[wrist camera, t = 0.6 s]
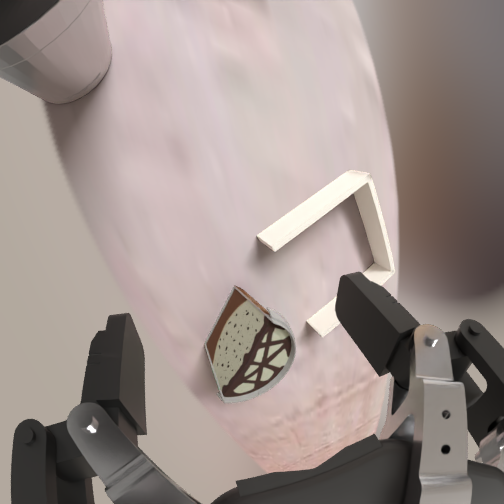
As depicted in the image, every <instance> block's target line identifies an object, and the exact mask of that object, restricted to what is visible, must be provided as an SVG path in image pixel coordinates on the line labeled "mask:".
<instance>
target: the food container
mask: <svg viewBox="0 0 504 504" xmlns="http://www.w3.org/2000/svg"><path fill="white" fill-rule="evenodd" d="M267 310H268V311H267ZM267 310H266V309H265V308H263V307H262V306H261V305H260V304H259V303H258V302H257V301H255V300H254V299H253V298H252V297H251V296H250V295H249V294H248V293H247V292H245V291H244V290H243V289H241V288H240V287H237V286H235V285H234V287H233V289H232V291H231V293H230V295H229V297H228V299H227V301H226V303H225V304H224V306H223V308H222V310H221V312H220V314H219V316H218V318H217V320H216V322H215V324H214V326H213V328H212V330H211V332H210V334H209V335H208V337H207V339H206V341H205V343H204V345H205V349H206V352H207V355H208V358H209V362H210V365H211V368H212V371H213V374H214V377H215V380H216V383H217V386H218V389H219V392H220V393H217V395H218V397H219V398H220V399H221V401H223V402H224V403H238V402H243V401H247V400H250V399H253V398H255V397H258V396H260V395H262V394H264V393H265V392H267V391H268V390H270V389H271V388H273V387H274V386H275V385H276V384H278V383H279V382H280V381H281V380H282V379H283V378H284V376H285V375H286V374H287V372H288V371H289V369H290V368H291V366H292V363H293V361H294V358H295V353H296V345H295V338H294V335H293V332H292V330H291V328H290V326H289V324H288V323H287V321H286V319H285V318H284V317H283V316H282V315H281V314H280V313H278V312H277V311H275V310H273V309H271V308H268V307H267Z"/></svg>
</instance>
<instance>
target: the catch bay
mask: <svg viewBox="0 0 504 504" xmlns="http://www.w3.org/2000/svg"><path fill="white" fill-rule="evenodd" d="M351 194H354V197H355V200H356V203H357V206H358V209H359V212H360V215H361V218H362V221H363V224H364V227H365V231H366V234H367V237H368V241H369V244H370V248H371V251H372V255H373V258H374V263H373V264H372V265H371V266H370V267H369V268H368V269H367V270H366V271H365V272H364V273H362V274H363V275H364V276H366V277H367V278H368V279H369V280H370V281H373V282H375V283H376V284H378V285H380V286H382V285H383V284H384V283H385V282H386V281H387V280H388V279H389V278H390V277H391V276H392V275H393V274H394V273H395V268H394V263H393V258H392V253H391V249H390V244H389V240H388V235H387V231H386V227H385V223H384V219H383V216H382V212H381V208H380V204H379V201H378V197H377V194H376V191H375V187H374V184H373V181H372V178H371V175H370V173H366V172H360V171H354V170H348V171H347V172H346V173H344V174H343V175H341V176H340V177H338V178H337V179H336V180H334V181H333V182H331V183H330V184H328V185H327V186H326V187H324V188H323V189H321V190H320V191H319V192H317V193H316V194H314V195H313V196H311V197H310V198H309V199H307V200H306V201H304V202H303V203H302V204H300V205H299V206H297V207H296V208H295V209H293V210H292V211H290V212H289V213H288V214H286V215H285V216H283V217H282V218H281V219H279V220H278V221H276V222H275V223H274V224H272V225H271V226H269V227H268V228H267V229H265V230H264V231H262V232H261V233H260V234H258V235H257V237H258V239H259V240H260V241H261V242H262V243H263V244H265V245H266V246H267V247H269V248H270V249H271V250H273V251H274V252H275V251H277V250H278V249H279V248H281V247H282V246H284V245H285V244H286V243H288V242H289V241H290V240H292V239H293V238H294V237H296V236H297V235H298V234H300V233H301V232H302V231H304V230H305V229H306V228H308V227H309V226H310V225H312V224H313V223H314V222H316V221H317V220H318V219H320V218H321V217H322V216H324V215H325V214H326V213H328V212H329V211H330V210H332V209H333V208H334V207H335V206H337V205H338V204H339V203H341V202H342V201H343V200H345V199H346V198H347V197H349V196H350V195H351ZM336 298H337V296H336V297H335V298H334V299H332V300H331V301H330V302H329V303H328V304H326V305H325V306H324V307H323V308H322V309H320V310H319V311H318V312H317V313H315V314H314V315H313V316H312V317H310V318H309V319H308V320H307V323H308V324H309V325H310V326H311V327H312V328H313V329H314V330H315V331H316V332H317V333H318V334H319V335H320V336H321V337H322V338H323V337H324V336H325V335H326V334H328V333H329V332H330V331H331V330H333V329H334V328H335V327H336V326H337V325H338V324H340V322H339V320H338V318H337V316H336V312H335V303H336Z"/></svg>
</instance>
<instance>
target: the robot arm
mask: <svg viewBox="0 0 504 504" xmlns="http://www.w3.org/2000/svg"><path fill="white" fill-rule="evenodd" d="M111 57H112V46H111V42H110V37H109V32H108V27H107V22H106V16H105V11H104V5H103V0H0V78H2V79H5V80H6V81H8V82H10V83H13V84H14V85H16V86H18V87H20V88H22V89H24V90H26V91H28V92H30V93H31V94H33V95H35V96H37V97H39V98H41V99H43V100H45V101H47V102H50V103H54V104H63V103H68V102H72V101H74V100H77V99H79V98H81V97H83V96H84V95H86V94H88V93H89V92H90V91H91V90H92V89H94V88H95V87H96V86H97V85H98V83H99V82H100V81H101V80H102V79H103V77H104V75H105V74H106V72H107V70H108V68H109V65H110V62H111ZM335 312H336V316H337V318H338V320H339V322H340V323H341V324H342V326H343V327H344V328H345V330H346V331H347V332H348V334H349V335H350V336H351V338H352V339H353V341H354V342H355V343H356V345H357V346H358V347H359V349H360V350H361V352H362V353H363V354H364V356H365V357H366V358H367V360H368V361H369V363H370V364H371V365H372V367H373V368H374V370H375V371H376V372H377V374H378V375H379V377H380V376H383V375H385V374H387V373H389V372H390V373H391V374H392V377H391V379H390V388H389V399H388V409H387V417H386V422H385V425H384V427H383V429H382V432H381V434H380V438H379V440H378V439H377V437H376V435H375V434H373V435H371V436H369V437H367V438H365V439H363V440H361V441H358V442H356V443H354V444H352V445H350V446H347V447H345V448H344V449H342V450H341V451H340V452H338V453H337V454H335V455H334V456H333V457H331V458H330V459H328V460H327V461H325V462H324V463H322V464H321V465H319V466H318V467H316V468H314V469H309V470H299V471H287V472H273V473H269V474H265V475H261V476H257V477H253V478H248V479H244V480H239V481H236V484H237V487H236V488H233V489H231V490H229V491H227V492H226V493H224V494H222V495H221V496H220V497H218V498H217V499H215V500H214V501H213V502H212V503H211V504H504V348H503V347H502V346H501V345H500V344H499V343H498V342H497V341H496V339H495V338H494V337H493V336H492V335H491V334H490V333H489V332H488V331H487V330H486V329H485V328H484V327H483V326H482V325H481V324H480V323H479V322H477V321H475V320H471V319H467V320H464V321H462V323H461V324H460V326H459V328H458V330H457V331H452V332H445V333H444V332H443V331H442V330H441V329H440V328H438V327H436V326H434V325H430V324H423V325H420V324H419V323H418V322H417V321H416V320H415V319H414V318H413V317H412V315H411V314H409V312H408V311H407V310H406V309H405V308H404V307H403V306H402V305H401V304H400V303H397V300H396V299H395V298H394V297H393V296H392V297H391V294H390V293H389V292H388V291H387V290H386V289H385V288H384V287H382V286H380V285H378V284H376V283H375V282H373V281H370V280H369V279H368V278H367V277H366V276H364V275H363V274H362V273H361V272H355V273H351V274H346V275H343V276H341V278H340V282H339V287H338V293H337V298H336V303H335ZM144 361H145V358H144V350H143V346H142V343H141V340H140V338H139V335H138V333H137V330H136V328H135V325H134V323H133V320H132V317H131V315H130V314H129V313H124V314H116V315H110V316H109V317H108V321H107V326H106V330H104V331H98V333H97V334H96V336H95V337H94V339H93V340H92V342H91V345H90V350H89V356H88V361H87V366H86V372H85V377H84V384H83V390H82V399H81V403H80V404H79V405H78V406H76V407H75V408H73V410H72V411H71V412H70V414H69V416H68V419H67V420H66V421H63V422H60V423H57V424H53V425H50V426H46V427H44V426H43V425H42V424H41V423H40V422H39V421H37V420H35V419H27V420H24V421H23V422H21V423H20V424H19V425H18V426H17V428H16V430H15V433H14V440H13V450H12V464H11V501H12V502H11V504H95V503H94V496H93V487H92V479H91V478H92V477H95V476H99V478H100V479H101V480H102V482H103V483H104V484H105V486H106V488H105V492H106V493H107V495H108V497H109V498H110V499H111V501H112V502H113V503H114V504H201V503H200V502H199V501H197V500H196V499H195V498H194V497H192V496H191V495H190V494H188V493H187V492H186V491H185V490H184V489H183V488H181V487H180V486H179V485H178V484H176V483H175V482H174V481H173V480H172V479H171V478H169V477H168V476H167V475H166V474H165V473H164V472H163V471H162V470H161V469H160V468H159V467H158V466H157V465H156V464H155V463H154V462H153V461H152V460H150V458H149V457H148V456H147V455H146V454H145V453H144V452H143V451H142V450H141V449H140V448H139V447H138V441H137V435H147V430H146V413H145V380H144V379H145V373H144V372H145V367H144V366H145V365H144V364H145V363H144ZM472 363H473V364H474V365H475V367H476V368H477V369H478V370H479V372H480V373H481V374H482V376H483V377H484V378H485V379H486V381H487V389H486V391H485V392H484V393H483V392H482V391H481V390H480V389H479V387H478V386H477V384H476V383H475V382H474V381H473V379H472V378H471V377H470V375H469V374H468V373H467V372H466V371H467V369H468V368H469V366H470V365H471V364H472ZM467 429H468V431H469V432H470V434H471V435H472V437H473V438H474V440H475V442H476V444H477V445H478V447H479V451H478V452H477V453H476V455H475V460H476V462H475V461H471V460H467V458H468V457H467V456H468V431H467ZM482 462H483V463H482Z"/></svg>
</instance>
